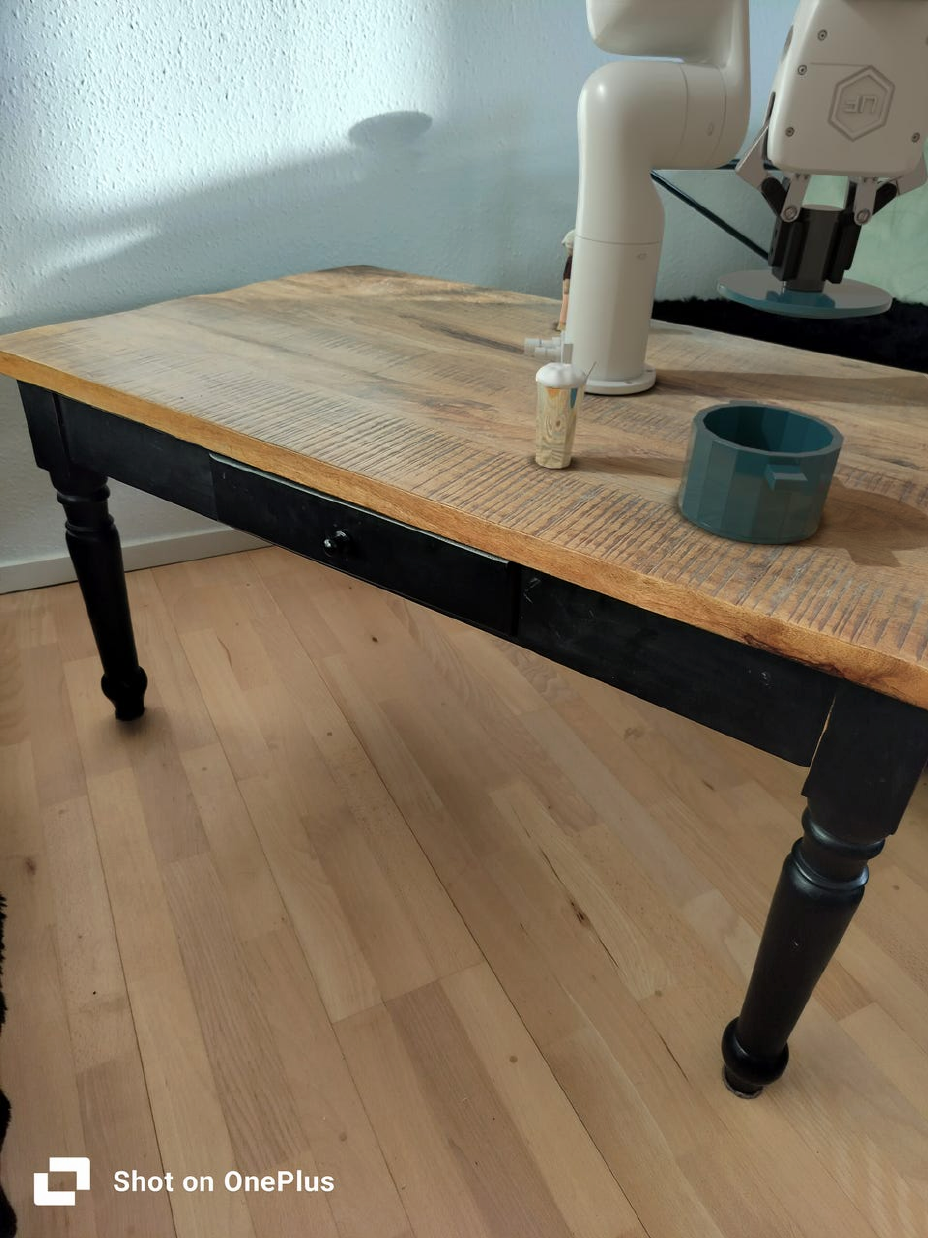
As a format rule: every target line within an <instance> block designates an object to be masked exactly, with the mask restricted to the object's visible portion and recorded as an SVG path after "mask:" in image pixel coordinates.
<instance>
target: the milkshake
mask: <svg viewBox="0 0 928 1238" xmlns="http://www.w3.org/2000/svg"><path fill="white" fill-rule="evenodd" d="M595 364H596V362H595V363H594V364H593V366H592V368H591V370H590V371H589V373H588V375H587V376H586V374H585V373H584V372H583V371H582V370H581V369H580V368H578V367H576V366H574V365H573V364H563V363H550V362H549V363H546V364H545V365H543V366H542V367H540V368H539V369H538V370H537V372H536V374H535V462H536V464H538V465H539V466H540V467H543V468H547V469H555V470H556V469H559V470H560V469H564V468H567V467H570V464H571V460H572V455H573V450H574V446H575V445H574V444H575V438H576V433H577V428H578V423H579V418H580V413H581V409H582V405H583V401H584V397H585V393H586V392H585V387H586V382H587V378H588V377H589V375H590V373H591V371H592V369H593V368H594V366H595Z"/></svg>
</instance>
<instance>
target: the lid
mask: <svg viewBox="0 0 928 1238" xmlns="http://www.w3.org/2000/svg"><path fill="white" fill-rule="evenodd" d="M843 212H844V209H843V207H839V206H834V205H827V204H814V203H813V204H811V203H810V204H808V203H807V204H802V206H801V209H800V213H801V215H800V219H799V222H800V223H802V224H803V231H802V236H801V240H800V244H799V248H798V253H797V257H796V261H795V266H794V270H793V274H792V278H791V280H788V281H787V282H786V281H779V280H778V279H777V278H776V277H775V276H774V275H772V269H749V270H748V269H747V270H738V271H732V272H728V273H725V274H722V275H720V276H719V277H718V278H717V280H716V285H715V289H716V291H717V292H718V294H719V295H721V296H723V297H725V298H727V299H729V300H731V301H733V302H736V303H739V304H742V305H745V306H748V307H750V308H752V309H756V310H759V311H762V312H766V313H770V314H775V315H781V316H787V317H793V318H802V319H803V318H804V319H813V320H814V319H815V320H817V319H819V320H834V319H835V320H836V319H846V318H859V317H868V316H875V315H879V314H882V313H885V312H887V311H888V310H890V308H891V306H892V303H893V296H892V295H891V293H889V292H888V291H887V290H885V289H883V288H881V287H878V286H876V285H873V284H870V283H867V282H864V281H860V280H855V279H851V278H848V277H843V278H842V282H841V283H840V284H832V283H831V282H829V281H828V280H826V279H827V275H828V271H829V267H830V264H831V260H832V256H833V252H834V248H835V244H836V240H837V236H838V232H839V228H840V224H841V220H842V216H843Z"/></svg>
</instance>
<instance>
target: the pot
mask: <svg viewBox="0 0 928 1238" xmlns="http://www.w3.org/2000/svg"><path fill="white" fill-rule="evenodd" d="M844 440H845V437H844V435H843V434H842V433H841V432H840V431H839V430H838V428H837V427H836V426H835V425H833V424H831V423H829V422H827V421H826V420H824V419H821V418H820V417H819V416H816V415H811V414H808V413H806V412H802V411H799V410H796V409H792V408H789V407H783V406H778V405H771V404H765V403H758V401H756V400H739V399H729V402H728V403H721V404H720V403H719V404H713V405H711V406H708V407H706V408H702V409H700V410H698V412H697V413H696V414H695V416H694V417H693V418H692V421H691V426H690V432H689V437H688V442H687V448H686V453H685V456H684V457H685V458H684V464H683V469H682V472H681V473H682V474H681V478H680V484H679V488H678V489H679V490H678V495H677V497H678V503H677V505H678V508H679V510H680V513H682V515H683V516H684V517H685V518H686V519H687V520H688V521H690V522H691V523H693V524H694V525H695V526H696V527H698V528H700V529H703V530H705V531H706V532H710V533H711V534H714V535H717V536H720V537H723V538H726V539H729V540H733V541H738V542H744V543H748V544H749V543H750V544H758V545H759V544H760V545H785V544H791V543H797V542H800V541H802V540H803V541H804V540H805V539H807V538H809V537H811V536H812V535H814V534H815V533H816V532H817V529H818V528H819V526H820V523H821V522H820V521H821V518H822V515H823V511H824V508H825V505H826V501H827V498H828V495H829V491H830V488H831V484H832V481H833V478H834V475H835V471H836V467H837V465H838V460H839V457H840V454H841V451H842V448H843V444H844Z"/></svg>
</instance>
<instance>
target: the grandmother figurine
mask: <svg viewBox="0 0 928 1238" xmlns="http://www.w3.org/2000/svg"><path fill="white" fill-rule="evenodd" d="M574 239H575V228H574V229H571V230H570V231H569V232H568V233H566V234H565V237H564V238H563V239H562V241H561V245H562V246H563V247H565V248H566V252H567V254H568V257H567V259H566V262H565V267H564V270H563V273H562V304H561V310H560V314H559V322H558V323H557V327H556V330H557V331H560V332H561V330H565V328H566V318H567V308H568V298H569V289H570V279H571V269H572V259H573V249H574Z"/></svg>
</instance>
